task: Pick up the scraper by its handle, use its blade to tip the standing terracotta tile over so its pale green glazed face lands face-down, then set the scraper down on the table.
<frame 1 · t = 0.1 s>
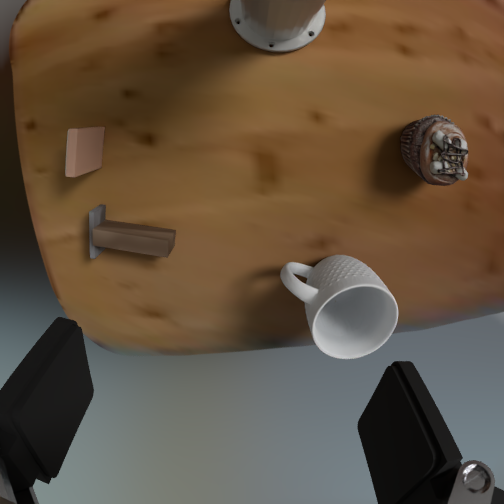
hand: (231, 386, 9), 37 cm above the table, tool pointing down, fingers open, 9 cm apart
tile: (98, 147, 41), on the table
cupcake: (421, 146, 41), on the table
mug: (327, 273, 48), on the table
scraper: (136, 231, 46), on the table
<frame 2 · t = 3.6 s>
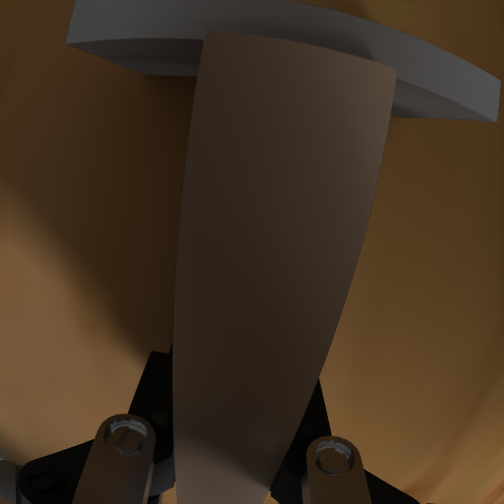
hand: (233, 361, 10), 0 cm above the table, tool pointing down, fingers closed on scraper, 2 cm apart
scraper: (246, 274, 9), on the table, touching gripper
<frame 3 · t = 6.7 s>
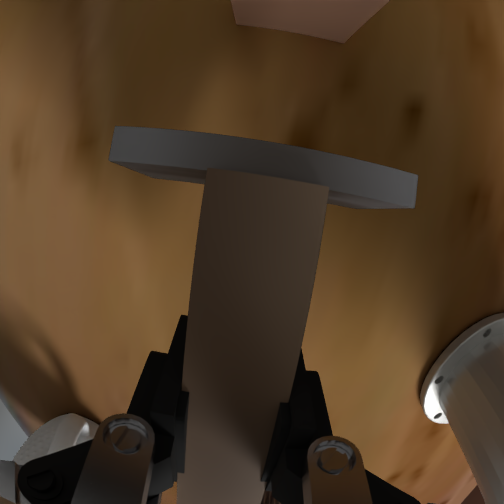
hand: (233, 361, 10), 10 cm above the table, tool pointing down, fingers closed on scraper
tile: (292, 20, 14), on the table
cupcake: (278, 499, 31), on the table
mug: (88, 427, 27), on the table
scraper: (234, 341, 11), point 9 cm above the table, tilted 15°, touching gripper
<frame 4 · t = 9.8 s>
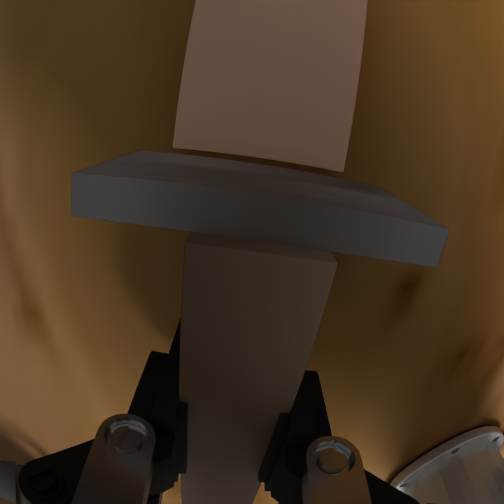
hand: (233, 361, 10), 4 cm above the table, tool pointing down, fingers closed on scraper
tile: (258, 155, 11), on the table, tilted 90°
scraper: (234, 339, 11), point 3 cm above the table, touching gripper
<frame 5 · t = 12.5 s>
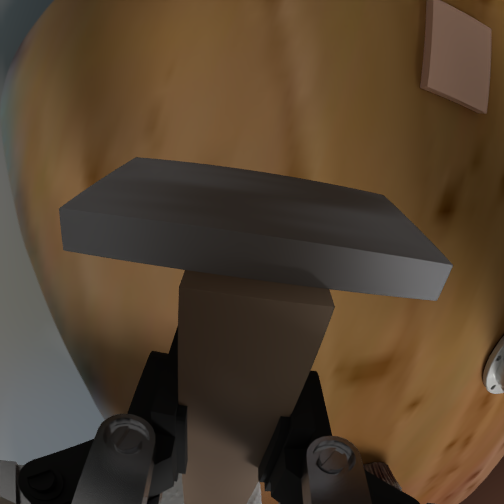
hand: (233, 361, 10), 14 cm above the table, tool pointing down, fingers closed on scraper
tile: (453, 100, 19), on the table, tilted 90°
cupcake: (362, 474, 37), on the table
mug: (215, 433, 32), on the table
scraper: (234, 340, 11), point 13 cm above the table, tilted 6°, touching gripper
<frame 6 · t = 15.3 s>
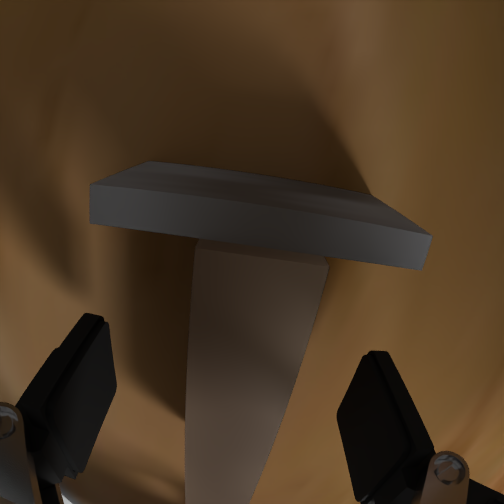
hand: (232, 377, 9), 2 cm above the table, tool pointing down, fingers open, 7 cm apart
scraper: (236, 338, 12), on the table
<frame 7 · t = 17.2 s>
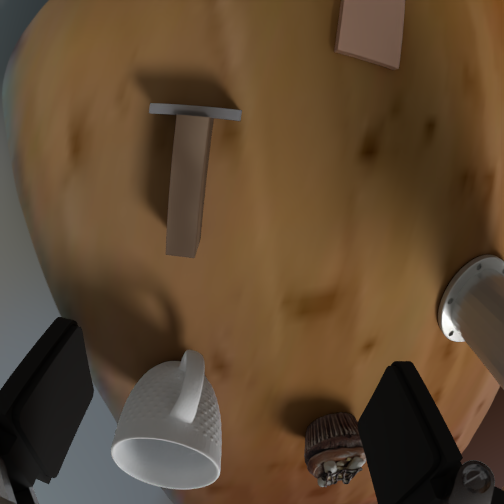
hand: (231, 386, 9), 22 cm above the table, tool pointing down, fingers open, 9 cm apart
tile: (366, 60, 24), on the table, tilted 90°
cupcake: (330, 426, 43), on the table
mug: (181, 373, 37), on the table
scraper: (193, 174, 28), on the table
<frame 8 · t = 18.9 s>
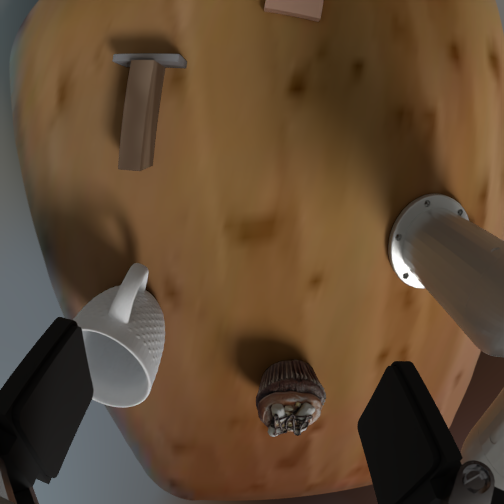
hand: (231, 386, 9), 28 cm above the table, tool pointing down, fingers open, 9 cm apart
tile: (291, 15, 27), on the table, tilted 90°
cupcake: (288, 377, 46), on the table
mug: (138, 300, 41), on the table
scraper: (148, 111, 32), on the table
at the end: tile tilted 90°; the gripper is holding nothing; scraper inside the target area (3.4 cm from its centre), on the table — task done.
